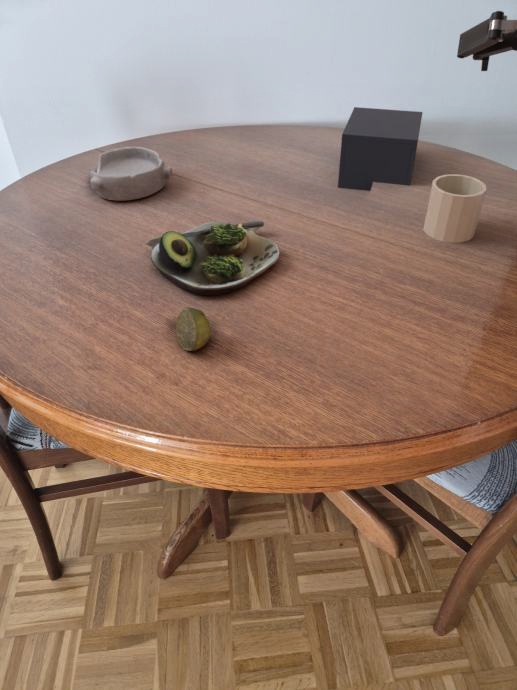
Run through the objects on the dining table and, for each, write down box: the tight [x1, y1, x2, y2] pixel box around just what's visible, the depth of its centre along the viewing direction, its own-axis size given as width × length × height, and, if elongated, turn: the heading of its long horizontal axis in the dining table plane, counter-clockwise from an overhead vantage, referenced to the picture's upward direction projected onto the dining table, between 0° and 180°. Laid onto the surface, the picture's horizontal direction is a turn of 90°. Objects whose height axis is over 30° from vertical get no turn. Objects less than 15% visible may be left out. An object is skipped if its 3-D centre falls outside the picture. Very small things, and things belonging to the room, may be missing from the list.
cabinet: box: [337, 106, 423, 191], centre depth 99 cm, size 15×13×10 cm
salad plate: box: [145, 220, 281, 297], centre depth 80 cm, size 19×18×5 cm
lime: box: [175, 307, 212, 352], centre depth 64 cm, size 4×5×5 cm
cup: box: [423, 173, 487, 244], centre depth 81 cm, size 7×7×9 cm
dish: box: [89, 146, 173, 202], centre depth 99 cm, size 14×14×5 cm
